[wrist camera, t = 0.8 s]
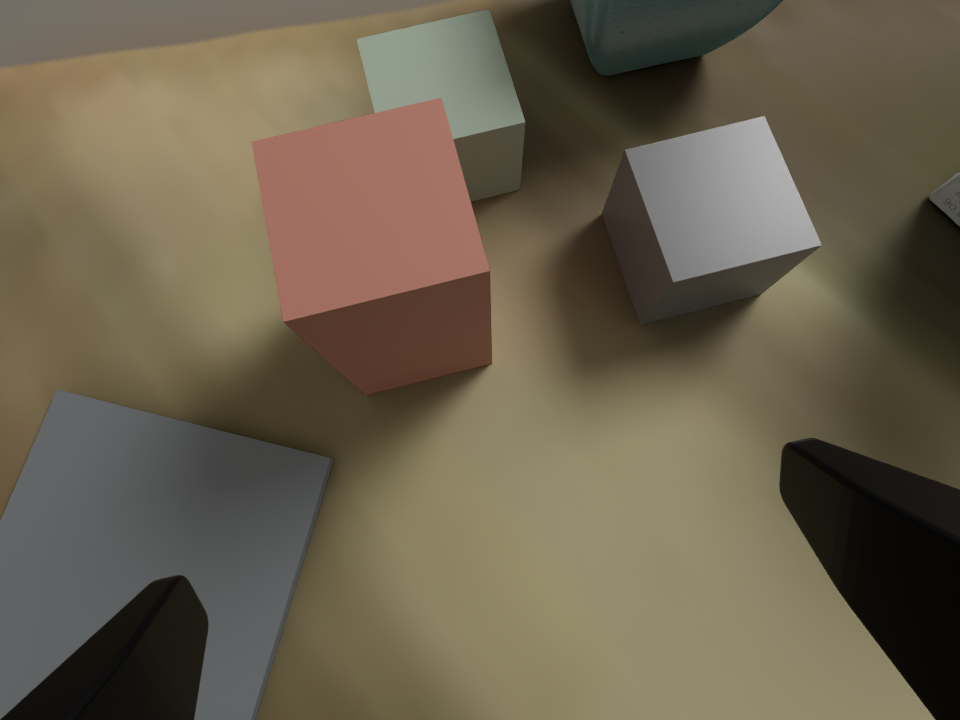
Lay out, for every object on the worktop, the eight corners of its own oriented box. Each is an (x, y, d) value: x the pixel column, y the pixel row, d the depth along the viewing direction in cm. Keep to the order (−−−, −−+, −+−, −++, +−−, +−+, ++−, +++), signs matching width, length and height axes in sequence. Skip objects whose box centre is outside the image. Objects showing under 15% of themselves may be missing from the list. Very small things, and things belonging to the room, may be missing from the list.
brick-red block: (492, 363, 22) (490, 270, 14) (366, 395, 22) (283, 322, 14) (461, 249, 24) (441, 97, 15) (342, 278, 23) (251, 142, 15)
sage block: (520, 191, 24) (525, 121, 20) (404, 219, 24) (384, 155, 20) (490, 93, 26) (489, 8, 21) (380, 119, 25) (356, 39, 21)
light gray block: (759, 295, 23) (821, 245, 19) (639, 326, 23) (673, 282, 18) (715, 187, 24) (764, 116, 20) (601, 215, 24) (624, 149, 20)
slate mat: (224, 822, 19) (217, 830, 18) (-77, 728, 20) (-92, 734, 19) (334, 459, 22) (330, 457, 21) (66, 392, 23) (57, 389, 22)
